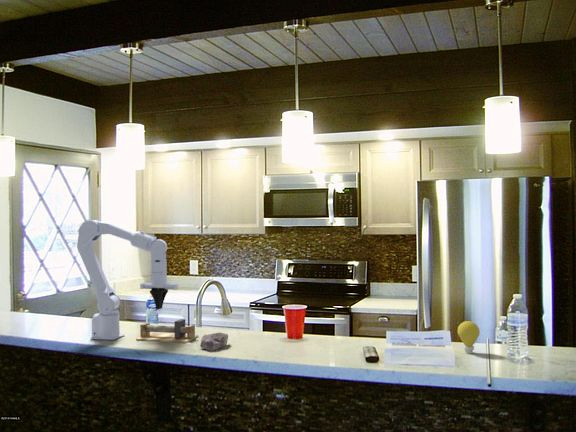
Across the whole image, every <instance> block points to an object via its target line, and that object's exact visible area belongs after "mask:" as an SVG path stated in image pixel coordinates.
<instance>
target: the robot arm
mask: <svg viewBox="0 0 576 432" xmlns="http://www.w3.org/2000/svg"><path fill="white" fill-rule="evenodd" d="M77 232H78V238H77V244H76V249H77V251H78V253H79V256H80V259H82V260H81V261H82V262H83V265H84V267H85V270H86V271H87V274H88V276H89V279H90V281H91V283H92V286H93V287H94V291H95V299H96V301H97V304H96V305H97V306H96V307H97V310H98V313H94V315H92V318H91V337H90V340H91V339H92V340H106V341H107V340H109V341H113V340H117V339H118V338H122V337H124V336H125V334H124V333H120V330H121V329H120V326H121V325H120V311H119V309H118V308H119V307H120V306H121V298H120V297H119V296H118V295H117V294H116V292H115V291H114V289H113V288H112V287H111V286H110V283H109V282H108V280H107V277H106V276H105V273H104V270H103V268H102V266H101V263H100V261H99V259H98V256H97V254H96V251H95V249H94V246H95V244H96V242H97V240H98V239H99V238H100V237H101V236H102V235H112V236H115V237H117V238H120V239H122V240H126V241H128V242H130V245H131V247H134V248H137V249H140V250H143V251H144V252H149V253H150V255H151V256H150V282H142V283H140V286H139V287H140V288H139V289H141V290H143V289H146V290H147V289H149V294H150V295H151V297H152V299H153V302H154V304H155V309H156V310H160V309H161V310H162V309H163V306H164V302H165V298H166V296H167V294H168V292H169V290H173V291H175V290H178V288H179V284H178V283H170V282H169V283H168V280H167V278H168V275H167V273H168V269H167V267H168V266H167V264H168V263H167V250H168V244H167V242H166V241H165V240H164V239H162V238H158V237H157V236H151V235H149V234H146V233H145V231H143V230H140V231H135V232H131V231H128V230H127V229H125V228H122V227H119V226H117V225H115V224H112V223H110V222H106V221H101V220H99V219H94V220H93V219H88V220H84V221H83V222H82V223H81V225H80V226H79V228H78V230H77ZM157 238H158V239H157Z"/></svg>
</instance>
